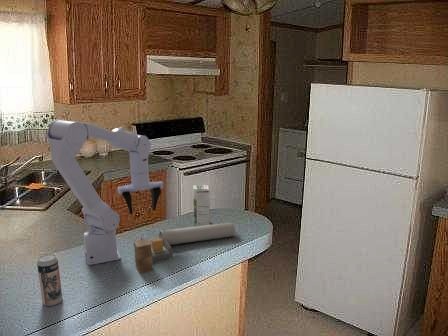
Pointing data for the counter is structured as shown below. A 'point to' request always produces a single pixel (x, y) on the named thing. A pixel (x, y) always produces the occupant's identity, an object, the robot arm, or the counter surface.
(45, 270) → the beer can
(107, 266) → the counter surface
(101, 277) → the counter surface
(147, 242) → the walnut peg
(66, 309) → the counter surface
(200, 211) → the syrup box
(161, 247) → the switch knob
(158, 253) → the grey open tray
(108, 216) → the robot arm
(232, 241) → the counter surface
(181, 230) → the tube
